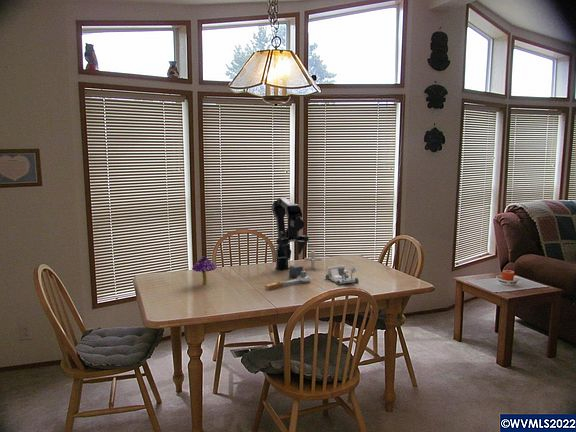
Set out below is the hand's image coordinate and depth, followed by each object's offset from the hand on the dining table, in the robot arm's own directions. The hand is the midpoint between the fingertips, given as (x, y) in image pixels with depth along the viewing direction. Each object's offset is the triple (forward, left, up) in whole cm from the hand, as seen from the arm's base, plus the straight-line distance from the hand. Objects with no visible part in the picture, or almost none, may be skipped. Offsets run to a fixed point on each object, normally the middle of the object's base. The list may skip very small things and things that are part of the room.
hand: (292, 255), depth 251 cm
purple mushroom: (+45, -17, -12) cm, 50 cm away
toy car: (-15, +24, -13) cm, 31 cm away
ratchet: (+12, +11, -12) cm, 20 cm away
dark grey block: (-2, +1, -12) cm, 12 cm away
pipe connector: (-23, -9, -12) cm, 27 cm away
